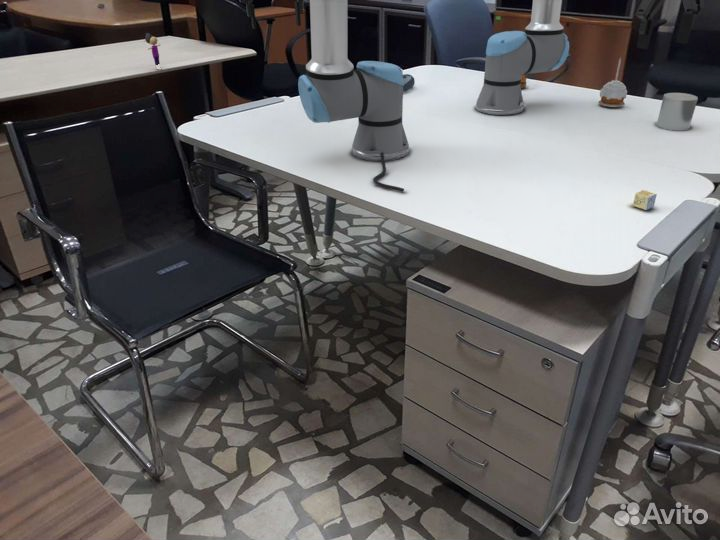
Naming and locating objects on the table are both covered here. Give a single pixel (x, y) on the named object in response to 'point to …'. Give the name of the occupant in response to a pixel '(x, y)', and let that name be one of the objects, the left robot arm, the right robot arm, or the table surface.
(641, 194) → the alphabet block
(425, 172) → the table surface
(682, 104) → the can
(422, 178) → the table surface
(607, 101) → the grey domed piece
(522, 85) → the burger
